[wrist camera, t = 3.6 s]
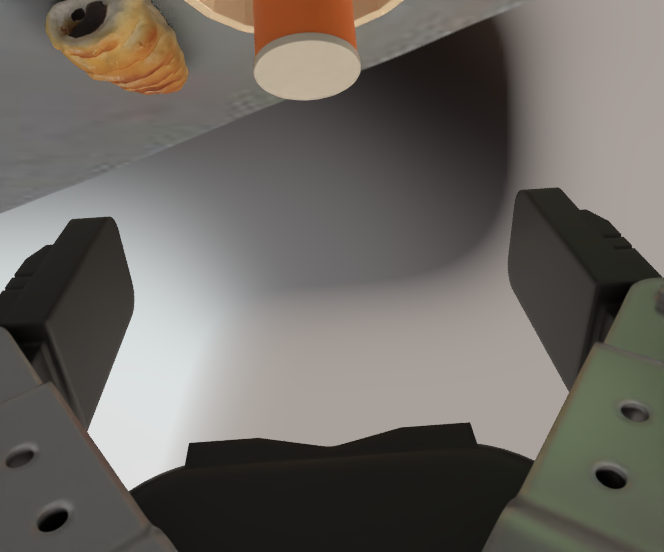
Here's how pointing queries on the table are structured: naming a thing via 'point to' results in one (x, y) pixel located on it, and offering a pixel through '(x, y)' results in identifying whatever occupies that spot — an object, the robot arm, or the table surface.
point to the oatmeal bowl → (237, 11)
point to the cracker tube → (305, 47)
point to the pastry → (119, 43)
